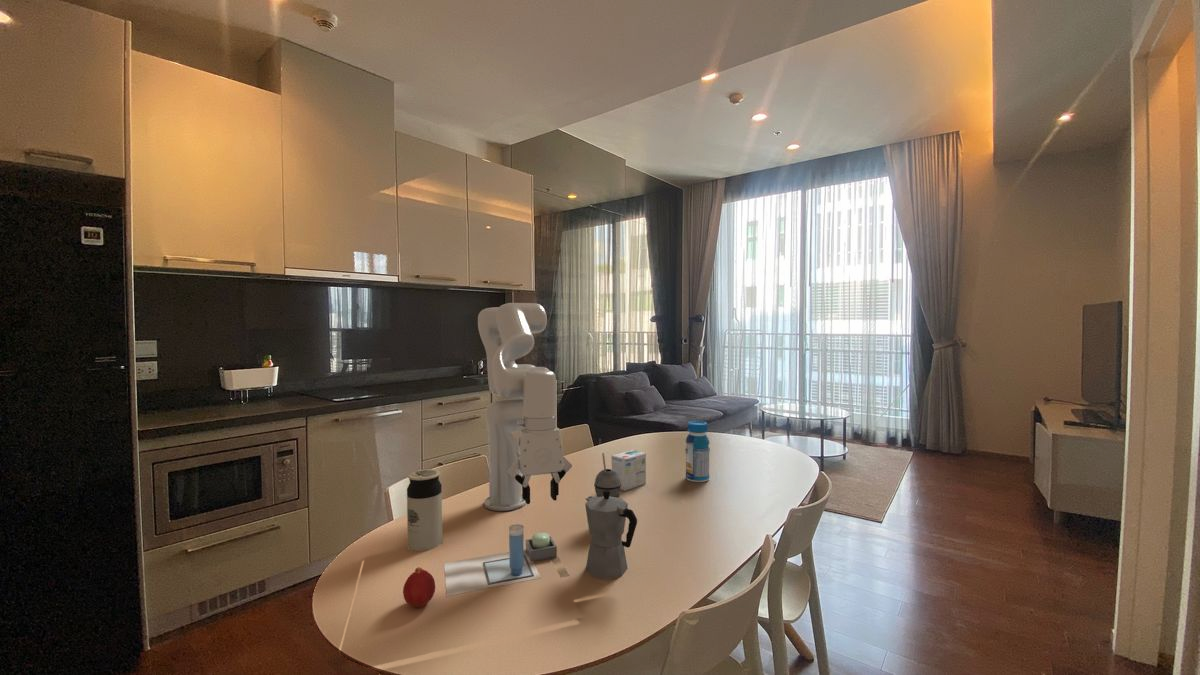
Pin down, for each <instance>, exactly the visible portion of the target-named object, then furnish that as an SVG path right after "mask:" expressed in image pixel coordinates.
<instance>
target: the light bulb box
mask: <svg viewBox="0 0 1200 675" xmlns="http://www.w3.org/2000/svg"><path fill="white" fill-rule="evenodd" d="M646 460H647V453H646V452H644V451H639V450H634V449H630V450H627V451H624V452H620V453H617V454H611V470H613V471H615V472H616V473H617V474H618V476H619V478H620V483H621V486H620V491H625V492H626V491H629V490H631V489H634V488H637V487H640V486H643V485H646V484H647V461H646Z"/></svg>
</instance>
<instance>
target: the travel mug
mask: <svg viewBox="0 0 1200 675" xmlns="http://www.w3.org/2000/svg"><path fill="white" fill-rule="evenodd" d="M440 475H441V471H439V469H434V468H433V469H430V468H429V469H420V470H418V469H417V470H415V471H413V472H410V473H409V474H408V475H407V478H408V479H409V484H408V486H407V488H406V508H407V509H406V510H407V511H406V512H407V513H406V514H407V515H406V516H407V517H406V518H407V520H406V522H407V549H408V548H409V549H408V550H411V551H413V550H414V551H415V552H424V551H430V550H433V549H435V548H437V547H439V546H440V545H442V544H443V506H442V505H443V501H442V500H443V499H442V498H443V496H442V492H443V491H442V483H441V482H440V479H439V478H440Z"/></svg>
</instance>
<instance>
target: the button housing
mask: <svg viewBox="0 0 1200 675" xmlns="http://www.w3.org/2000/svg"><path fill="white" fill-rule="evenodd" d="M549 536H550V547H545V548H539V549H533V548H532V538H529V539H527V538H526V539H525V549H526V552H527V554H528V556H529V558H530V561H531V562H534V563H535V562H539V561H544V560H546V561H547V560H551V559H552V558H557V555H558V552H557V549H558V546H557V544H556V543H555V541H554V540H553V537H552V535H549Z"/></svg>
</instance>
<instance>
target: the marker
mask: <svg viewBox="0 0 1200 675" xmlns="http://www.w3.org/2000/svg"><path fill="white" fill-rule="evenodd" d="M524 529H525V528H524V525H523V524H519V523H516V524H511V525H510V526H508V534H509V535H508V537H509V540H508V542H509V547H508V548H509V551H508V552H509V563H510V568H511V575H512V576H520V575H521V574H522V567H523V566H524V533H525V532H524V531H525V530H524Z"/></svg>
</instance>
